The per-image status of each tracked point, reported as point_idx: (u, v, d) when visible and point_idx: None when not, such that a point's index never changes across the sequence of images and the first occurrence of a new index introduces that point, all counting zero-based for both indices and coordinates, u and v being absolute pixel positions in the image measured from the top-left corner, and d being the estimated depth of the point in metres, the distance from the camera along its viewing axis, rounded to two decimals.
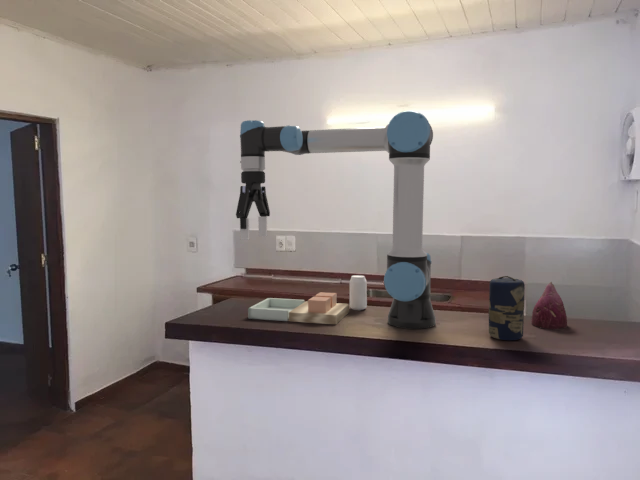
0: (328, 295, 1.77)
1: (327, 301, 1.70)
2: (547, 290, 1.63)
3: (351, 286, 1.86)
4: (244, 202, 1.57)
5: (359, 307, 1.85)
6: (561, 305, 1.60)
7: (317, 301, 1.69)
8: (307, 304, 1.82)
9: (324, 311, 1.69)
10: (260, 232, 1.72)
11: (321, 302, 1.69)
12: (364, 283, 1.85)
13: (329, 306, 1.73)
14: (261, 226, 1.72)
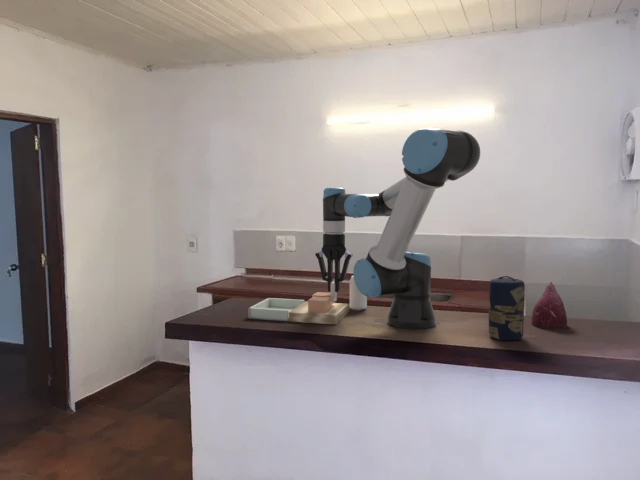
0: (325, 295, 1.78)
1: (327, 301, 1.70)
2: (547, 290, 1.63)
3: (351, 286, 1.86)
4: None
5: (359, 307, 1.85)
6: (561, 305, 1.60)
7: (317, 301, 1.69)
8: (307, 304, 1.82)
9: (324, 311, 1.69)
10: None
11: (321, 302, 1.69)
12: None
13: (329, 306, 1.73)
14: None
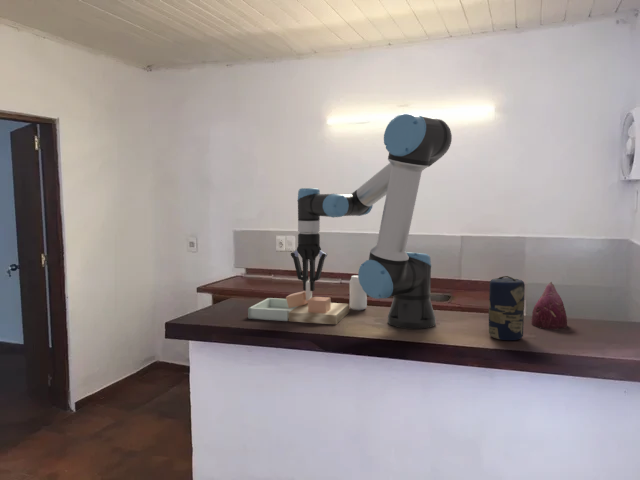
0: (298, 293, 1.80)
1: (327, 301, 1.70)
2: (547, 290, 1.63)
3: (351, 286, 1.86)
4: None
5: (359, 307, 1.85)
6: (561, 305, 1.60)
7: (317, 301, 1.69)
8: (307, 304, 1.82)
9: (324, 311, 1.69)
10: None
11: (321, 302, 1.69)
12: None
13: (329, 306, 1.73)
14: None
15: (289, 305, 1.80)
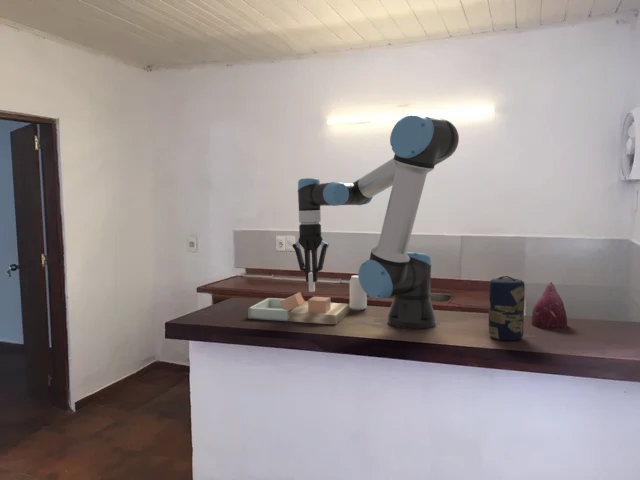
0: (291, 296, 1.81)
1: (327, 301, 1.70)
2: (547, 290, 1.63)
3: (351, 286, 1.86)
4: None
5: (359, 307, 1.85)
6: (561, 305, 1.60)
7: (317, 301, 1.69)
8: (307, 304, 1.82)
9: (324, 311, 1.69)
10: None
11: (321, 302, 1.69)
12: None
13: (329, 306, 1.73)
14: None
15: (285, 309, 1.81)
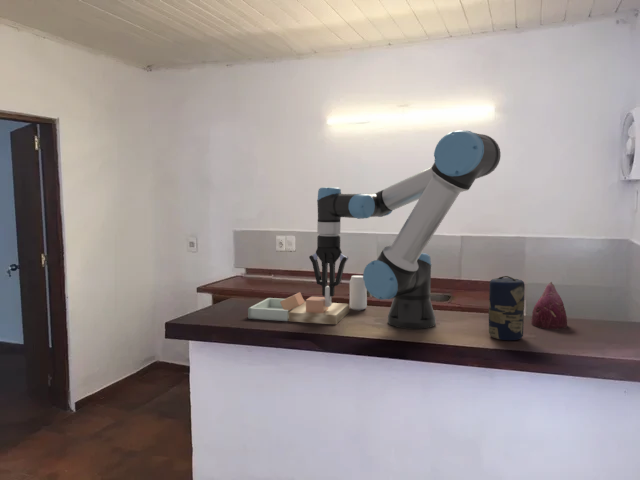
0: (291, 296, 1.81)
1: None
2: (547, 290, 1.63)
3: (351, 286, 1.86)
4: None
5: (359, 307, 1.85)
6: (561, 305, 1.60)
7: (315, 301, 1.69)
8: None
9: (322, 311, 1.69)
10: None
11: (319, 302, 1.69)
12: (364, 283, 1.85)
13: None
14: None
15: (285, 309, 1.81)
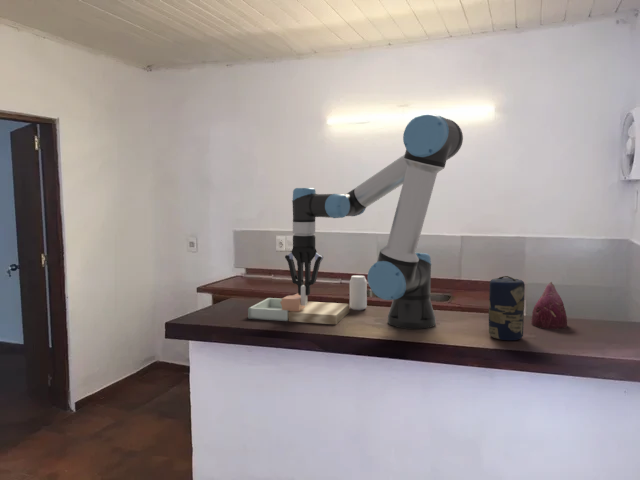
0: None
1: (300, 299, 1.73)
2: (547, 290, 1.63)
3: (351, 286, 1.86)
4: None
5: (359, 307, 1.85)
6: (561, 305, 1.60)
7: (290, 300, 1.72)
8: (307, 304, 1.82)
9: (297, 309, 1.71)
10: None
11: (294, 300, 1.71)
12: (364, 283, 1.85)
13: None
14: None
15: None
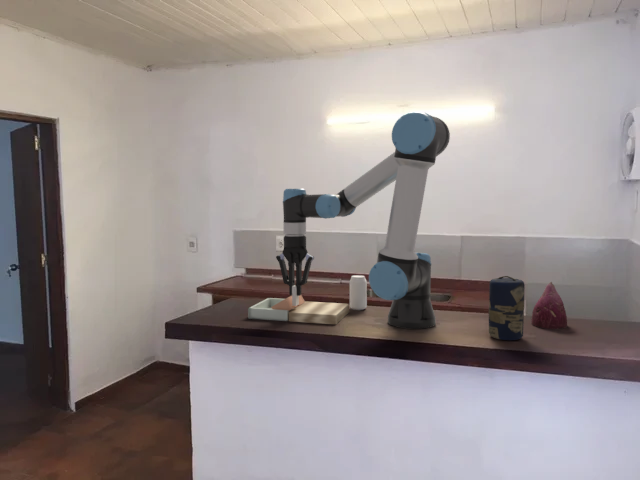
0: None
1: (288, 299, 1.74)
2: (547, 290, 1.63)
3: (351, 286, 1.86)
4: None
5: (359, 307, 1.85)
6: (561, 305, 1.60)
7: (279, 303, 1.73)
8: (307, 304, 1.82)
9: (289, 308, 1.72)
10: None
11: (282, 302, 1.72)
12: (364, 283, 1.85)
13: None
14: None
15: None
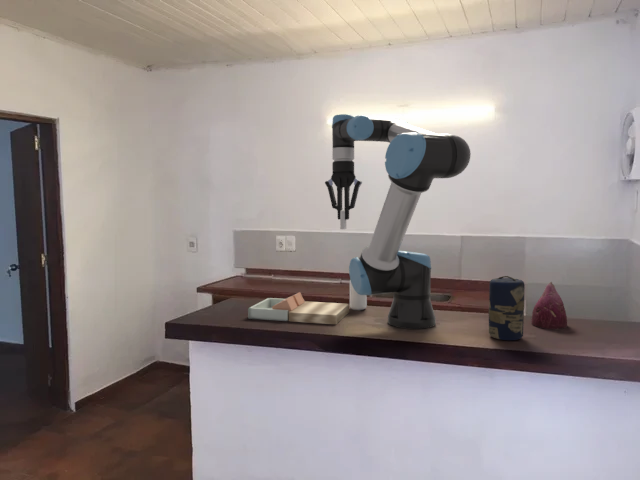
0: (291, 296, 1.81)
1: (289, 300, 1.74)
2: (547, 290, 1.63)
3: (351, 286, 1.86)
4: None
5: (359, 307, 1.85)
6: (561, 305, 1.60)
7: (280, 303, 1.73)
8: (307, 304, 1.82)
9: (290, 309, 1.72)
10: None
11: (283, 302, 1.72)
12: None
13: (294, 304, 1.76)
14: None
15: None
